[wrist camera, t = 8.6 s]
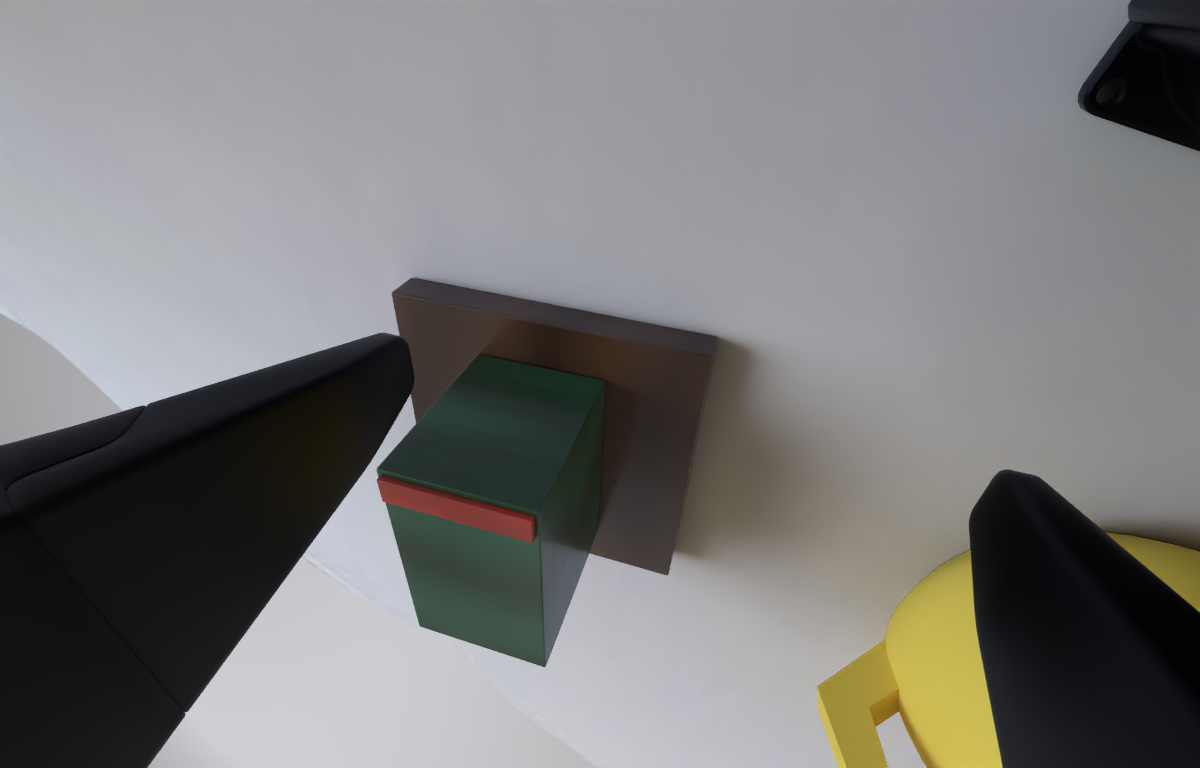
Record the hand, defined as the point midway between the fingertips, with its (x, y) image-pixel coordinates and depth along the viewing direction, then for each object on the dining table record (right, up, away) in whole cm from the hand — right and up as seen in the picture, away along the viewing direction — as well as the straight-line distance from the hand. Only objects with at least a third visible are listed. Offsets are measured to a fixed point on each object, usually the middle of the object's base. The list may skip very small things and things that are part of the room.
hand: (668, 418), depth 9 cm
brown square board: (-3, -2, +18) cm, 18 cm away
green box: (-4, -2, +17) cm, 17 cm away
